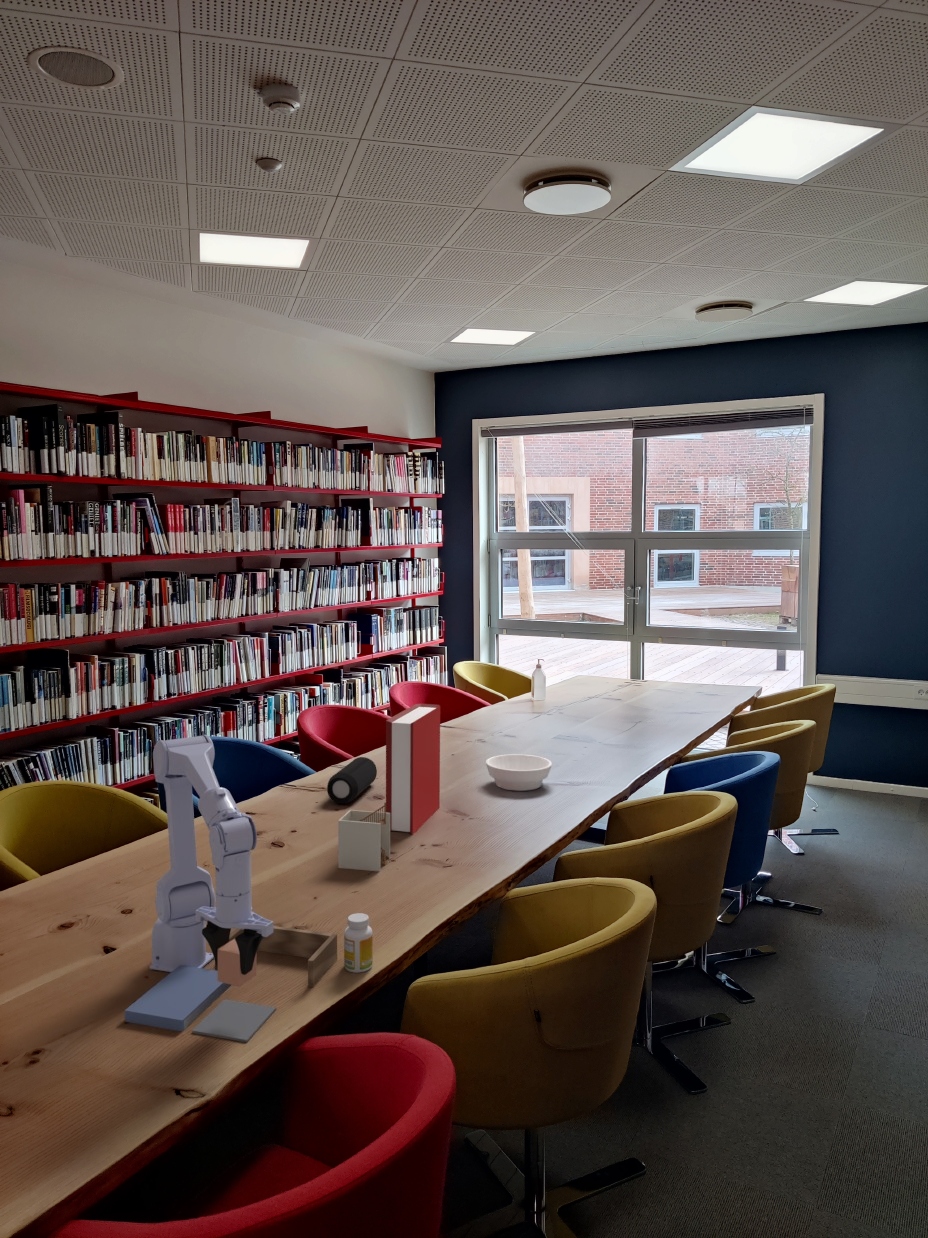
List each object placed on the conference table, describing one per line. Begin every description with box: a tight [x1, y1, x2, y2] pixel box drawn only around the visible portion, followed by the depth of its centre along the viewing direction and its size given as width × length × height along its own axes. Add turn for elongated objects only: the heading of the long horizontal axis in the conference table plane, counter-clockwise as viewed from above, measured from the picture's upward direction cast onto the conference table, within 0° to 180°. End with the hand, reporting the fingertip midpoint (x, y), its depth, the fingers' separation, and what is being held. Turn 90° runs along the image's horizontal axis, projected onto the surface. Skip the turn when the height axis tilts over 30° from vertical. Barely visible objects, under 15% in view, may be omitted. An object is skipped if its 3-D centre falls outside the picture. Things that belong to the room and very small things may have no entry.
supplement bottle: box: [343, 912, 374, 974], centre depth 160 cm, size 5×5×10 cm
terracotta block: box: [218, 939, 257, 988], centre depth 141 cm, size 4×4×6 cm
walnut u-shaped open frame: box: [214, 925, 338, 988], centre depth 160 cm, size 20×11×5 cm, turn 75°
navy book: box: [124, 965, 232, 1032], centre depth 147 cm, size 16×11×2 cm
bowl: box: [485, 753, 553, 792], centre depth 284 cm, size 22×22×8 cm
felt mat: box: [191, 998, 277, 1043], centre depth 141 cm, size 10×10×1 cm
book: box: [385, 703, 441, 836], centre depth 247 cm, size 27×8×32 cm, turn 165°
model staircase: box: [337, 802, 391, 872], centre depth 212 cm, size 9×11×17 cm
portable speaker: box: [326, 756, 378, 805], centre depth 272 cm, size 26×10×10 cm, turn 169°
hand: (234, 969), depth 140 cm, fingers closed on terracotta block, 4 cm apart
